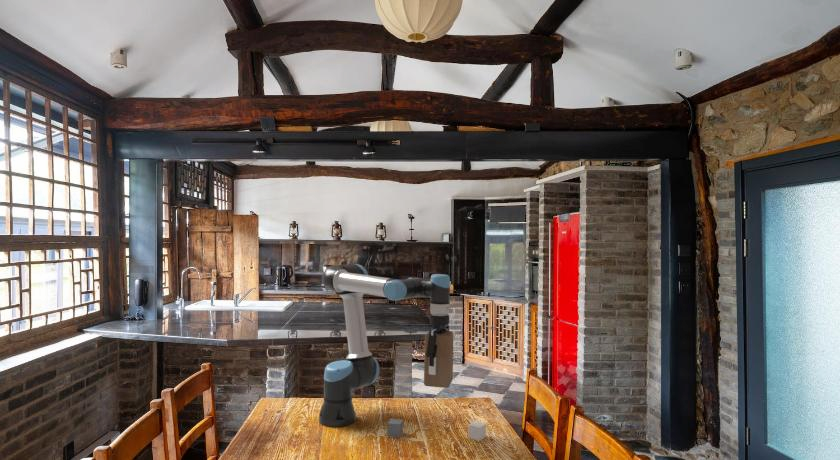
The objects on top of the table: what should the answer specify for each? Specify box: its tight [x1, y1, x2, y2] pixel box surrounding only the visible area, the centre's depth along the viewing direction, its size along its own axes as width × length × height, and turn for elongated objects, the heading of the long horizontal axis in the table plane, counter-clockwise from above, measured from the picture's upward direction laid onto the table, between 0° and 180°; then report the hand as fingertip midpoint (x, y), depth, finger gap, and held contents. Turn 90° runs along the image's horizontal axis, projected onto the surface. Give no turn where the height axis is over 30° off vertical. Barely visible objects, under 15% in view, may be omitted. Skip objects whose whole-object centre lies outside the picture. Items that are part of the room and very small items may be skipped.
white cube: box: [467, 420, 487, 442], centre depth 187 cm, size 5×5×5 cm
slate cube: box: [386, 418, 404, 438], centre depth 188 cm, size 5×5×5 cm
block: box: [423, 330, 455, 389], centre depth 188 cm, size 10×10×20 cm
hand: (438, 370), depth 188 cm, fingers closed on block, 11 cm apart
